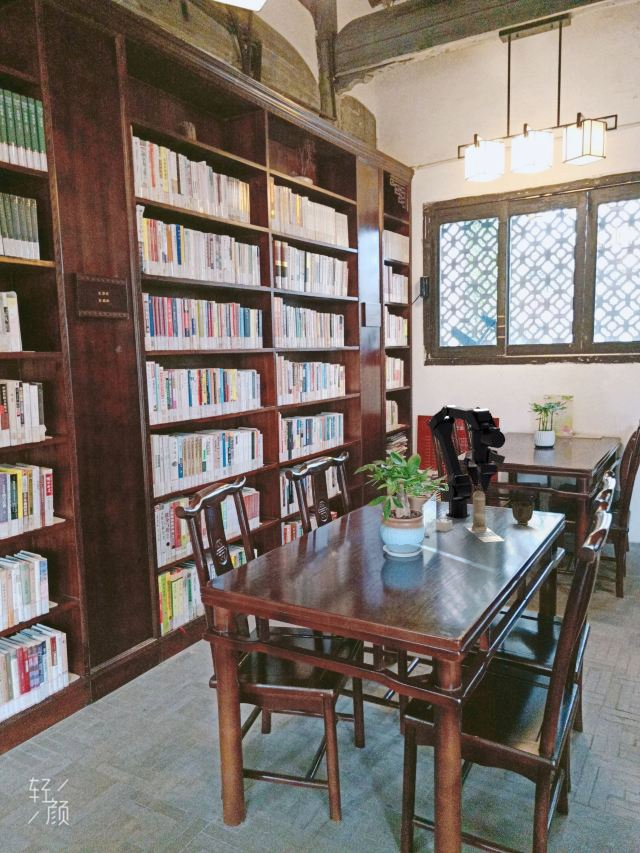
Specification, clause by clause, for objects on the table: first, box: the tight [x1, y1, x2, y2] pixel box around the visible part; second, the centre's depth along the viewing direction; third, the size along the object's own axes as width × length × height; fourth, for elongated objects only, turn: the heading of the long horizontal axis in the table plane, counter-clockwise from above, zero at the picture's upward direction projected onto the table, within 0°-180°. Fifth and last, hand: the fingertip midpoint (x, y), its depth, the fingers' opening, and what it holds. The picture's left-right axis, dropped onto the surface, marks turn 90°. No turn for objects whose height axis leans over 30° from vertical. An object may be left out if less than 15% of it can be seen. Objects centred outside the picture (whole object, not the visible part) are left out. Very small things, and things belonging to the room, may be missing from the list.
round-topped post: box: [472, 490, 488, 532], centre depth 205 cm, size 5×5×14 cm
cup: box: [511, 500, 535, 527], centre depth 212 cm, size 8×7×8 cm
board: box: [461, 522, 506, 543], centre depth 203 cm, size 22×7×1 cm, turn 5°
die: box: [435, 518, 453, 532], centre depth 208 cm, size 4×4×4 cm
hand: (480, 488), depth 214 cm, fingers open, 9 cm apart
